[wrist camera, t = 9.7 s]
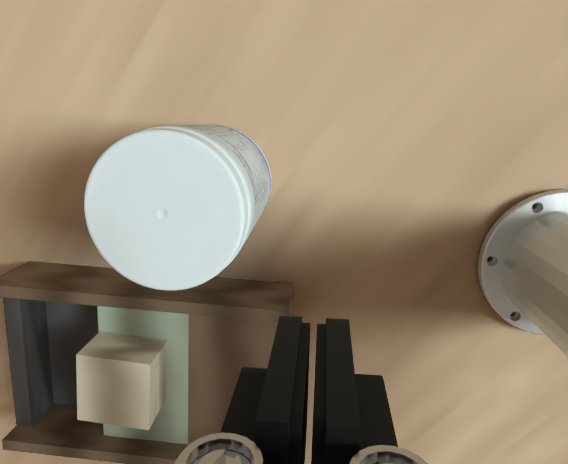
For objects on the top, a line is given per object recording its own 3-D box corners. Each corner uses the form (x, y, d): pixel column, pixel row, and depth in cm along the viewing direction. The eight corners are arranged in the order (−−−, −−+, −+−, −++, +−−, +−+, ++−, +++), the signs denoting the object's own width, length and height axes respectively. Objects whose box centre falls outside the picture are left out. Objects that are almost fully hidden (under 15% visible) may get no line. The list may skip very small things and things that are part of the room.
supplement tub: (208, 252, 41) (147, 325, 27) (143, 166, 40) (42, 194, 25) (296, 193, 39) (280, 238, 25) (231, 99, 38) (175, 90, 23)
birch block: (167, 340, 39) (150, 364, 35) (165, 400, 41) (148, 430, 37) (100, 331, 39) (76, 354, 36) (100, 391, 41) (77, 419, 37)
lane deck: (293, 283, 41) (288, 311, 35) (283, 434, 45) (277, 481, 39) (29, 261, 43) (-17, 284, 37) (43, 408, 47) (3, 449, 41)
